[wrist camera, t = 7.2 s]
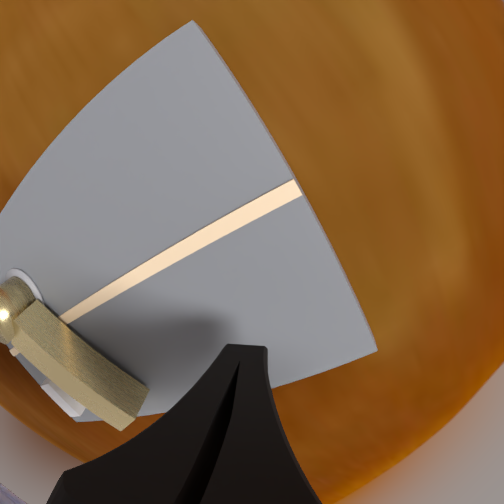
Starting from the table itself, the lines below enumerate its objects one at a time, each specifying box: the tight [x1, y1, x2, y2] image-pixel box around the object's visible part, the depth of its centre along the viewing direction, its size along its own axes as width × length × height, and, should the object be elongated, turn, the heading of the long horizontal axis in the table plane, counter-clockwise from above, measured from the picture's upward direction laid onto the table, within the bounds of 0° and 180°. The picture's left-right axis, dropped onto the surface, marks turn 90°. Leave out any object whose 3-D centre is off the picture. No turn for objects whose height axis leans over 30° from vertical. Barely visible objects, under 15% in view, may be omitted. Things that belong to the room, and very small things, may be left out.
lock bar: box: [0, 276, 150, 431], centre depth 13 cm, size 11×3×3 cm, turn 52°
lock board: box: [0, 20, 378, 422], centre depth 13 cm, size 15×24×3 cm, turn 121°
